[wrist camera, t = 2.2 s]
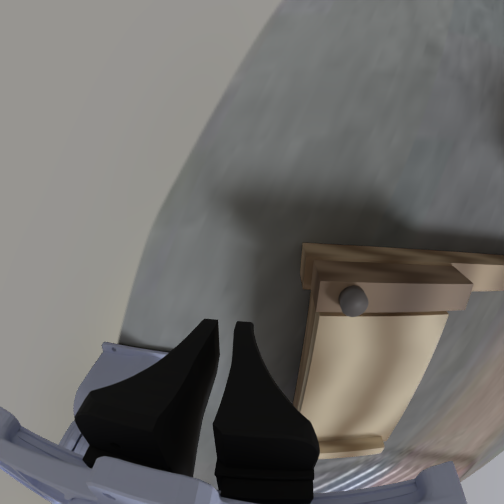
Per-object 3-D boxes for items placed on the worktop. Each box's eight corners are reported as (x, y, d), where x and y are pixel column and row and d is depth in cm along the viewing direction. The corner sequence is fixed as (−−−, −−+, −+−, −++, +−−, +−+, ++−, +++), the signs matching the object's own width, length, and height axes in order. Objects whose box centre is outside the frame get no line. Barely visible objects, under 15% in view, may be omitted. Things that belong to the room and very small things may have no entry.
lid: (291, 435, 25) (291, 459, 22) (316, 303, 19) (322, 329, 17) (383, 430, 25) (389, 451, 22) (440, 304, 19) (457, 325, 16)
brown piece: (281, 413, 28) (281, 434, 25) (302, 242, 21) (306, 258, 18) (463, 395, 27) (472, 411, 24) (524, 256, 20) (541, 268, 17)
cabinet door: (310, 287, 20) (317, 319, 16) (313, 259, 19) (322, 287, 15) (446, 289, 19) (470, 315, 15) (453, 266, 18) (479, 289, 15)
